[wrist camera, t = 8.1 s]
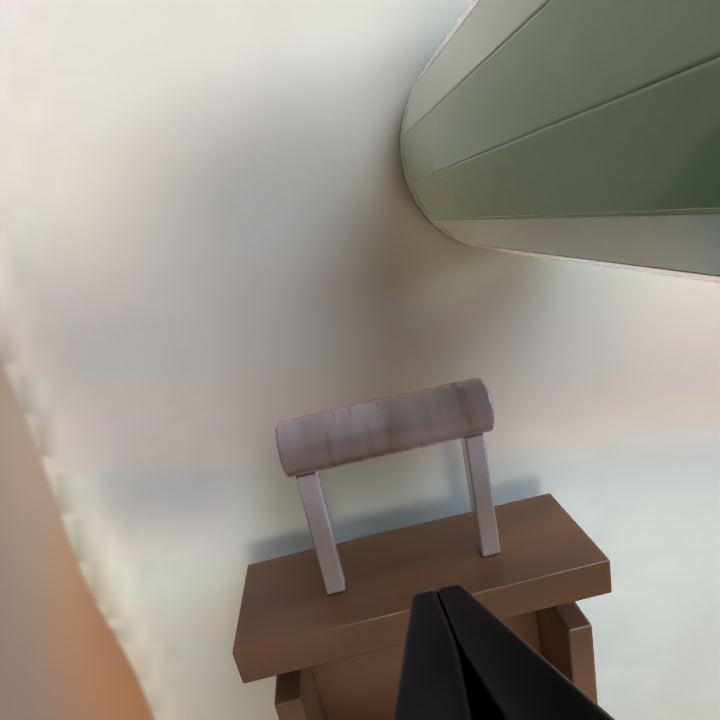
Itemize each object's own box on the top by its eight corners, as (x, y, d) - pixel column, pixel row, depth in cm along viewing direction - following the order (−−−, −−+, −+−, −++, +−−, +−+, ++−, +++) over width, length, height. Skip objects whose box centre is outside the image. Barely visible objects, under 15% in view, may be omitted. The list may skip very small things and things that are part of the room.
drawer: (200, 416, 15) (168, 473, 12) (535, 341, 16) (599, 375, 12) (338, 846, 22) (343, 968, 18) (578, 782, 22) (629, 890, 18)
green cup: (604, 226, 16) (1476, 233, 4) (417, 266, 16) (762, 402, 4) (593, 5, 14) (2114, -1162, 2) (381, 46, 14) (825, -1037, 2)
